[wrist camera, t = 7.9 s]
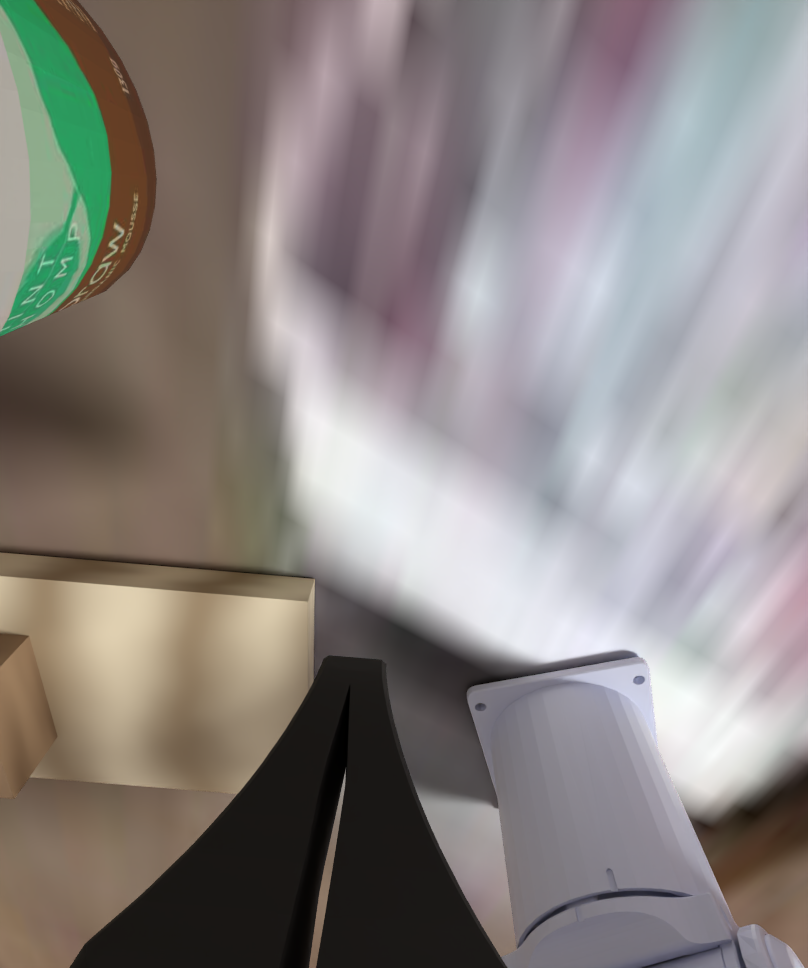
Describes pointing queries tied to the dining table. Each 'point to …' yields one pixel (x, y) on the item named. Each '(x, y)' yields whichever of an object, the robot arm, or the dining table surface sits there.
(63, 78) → the food container
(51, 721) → the tan cardboard box
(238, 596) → the board
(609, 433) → the dining table surface
